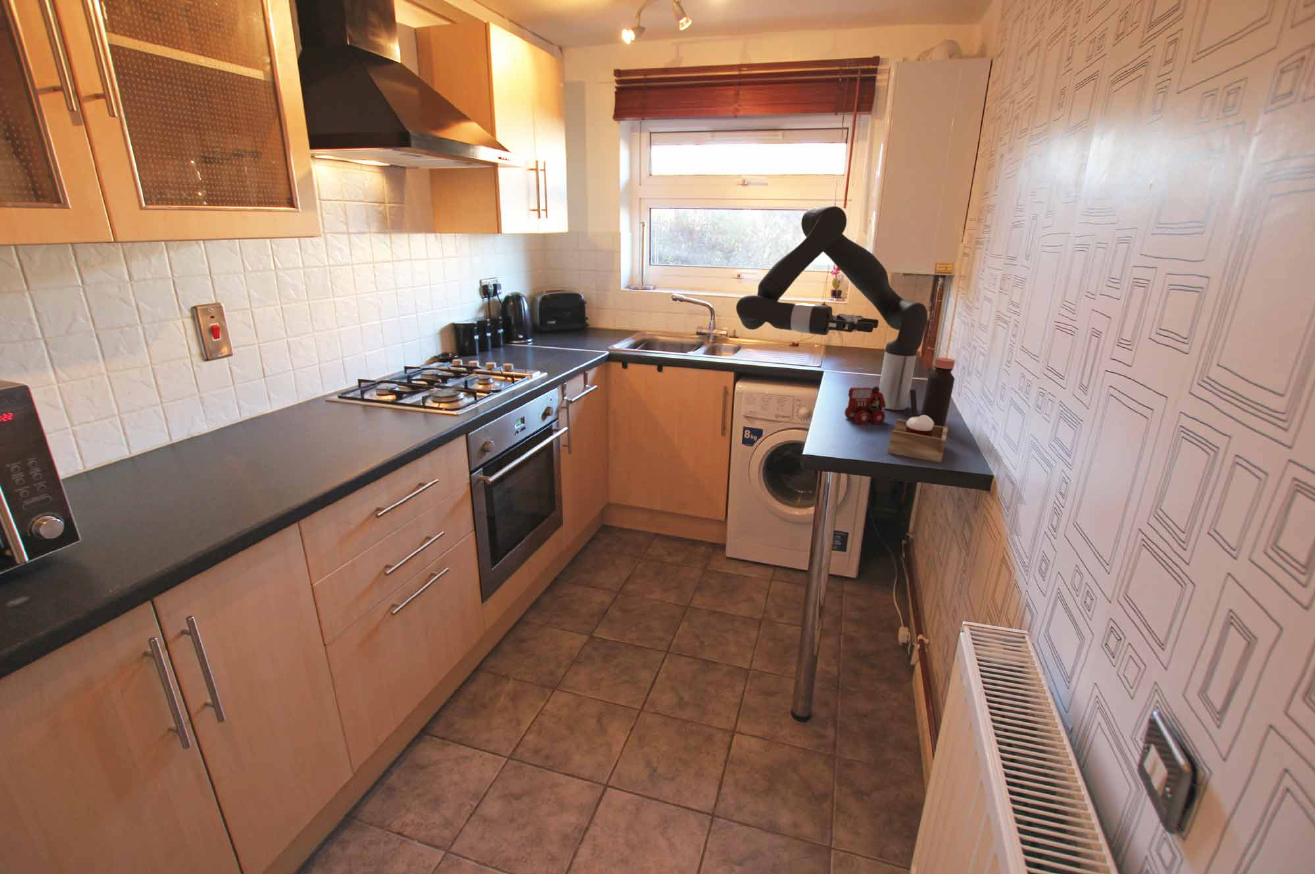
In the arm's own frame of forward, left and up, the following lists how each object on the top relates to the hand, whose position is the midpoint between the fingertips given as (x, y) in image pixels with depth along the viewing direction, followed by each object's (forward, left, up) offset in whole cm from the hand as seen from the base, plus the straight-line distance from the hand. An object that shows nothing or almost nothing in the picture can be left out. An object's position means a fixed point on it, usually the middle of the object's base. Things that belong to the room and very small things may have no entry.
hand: (875, 326), depth 153 cm
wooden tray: (0, +15, -30) cm, 33 cm away
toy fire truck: (-18, -1, -30) cm, 35 cm away
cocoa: (0, +14, -28) cm, 31 cm away
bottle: (-23, +17, -30) cm, 42 cm away
